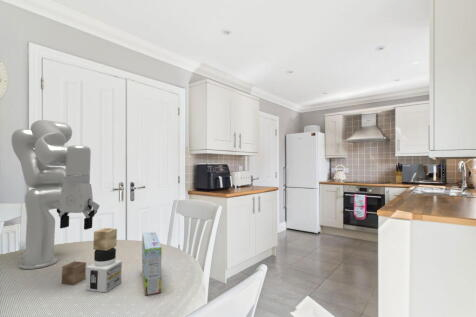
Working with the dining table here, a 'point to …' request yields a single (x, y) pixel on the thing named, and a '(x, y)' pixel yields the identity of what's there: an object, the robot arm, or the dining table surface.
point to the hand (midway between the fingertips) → (76, 228)
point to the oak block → (105, 239)
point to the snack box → (151, 263)
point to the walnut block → (73, 273)
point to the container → (104, 271)
